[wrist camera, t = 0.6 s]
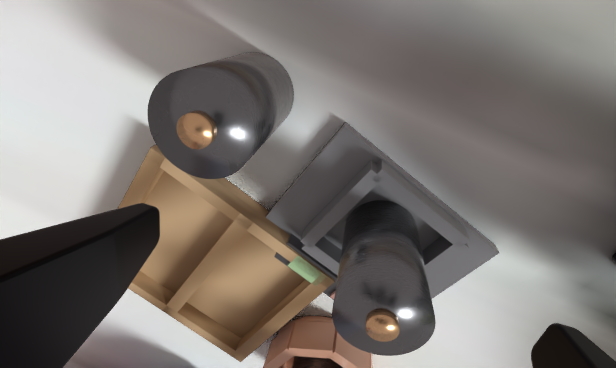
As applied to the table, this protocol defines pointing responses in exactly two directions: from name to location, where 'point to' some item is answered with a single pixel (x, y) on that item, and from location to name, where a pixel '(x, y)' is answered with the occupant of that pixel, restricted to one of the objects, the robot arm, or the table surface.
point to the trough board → (217, 259)
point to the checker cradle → (364, 188)
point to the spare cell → (219, 112)
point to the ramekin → (314, 344)
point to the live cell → (382, 282)
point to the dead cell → (314, 362)
